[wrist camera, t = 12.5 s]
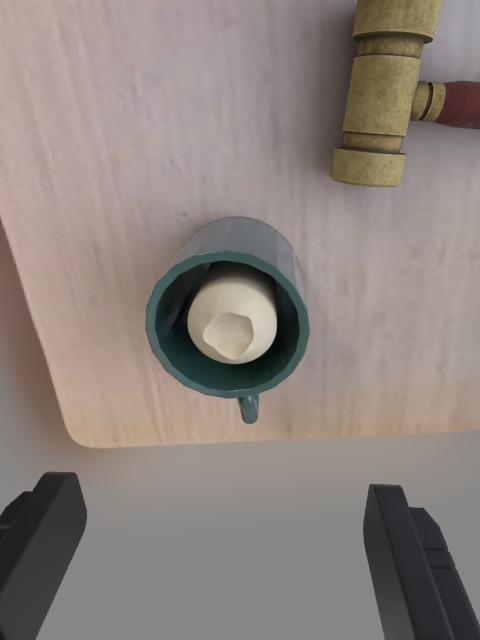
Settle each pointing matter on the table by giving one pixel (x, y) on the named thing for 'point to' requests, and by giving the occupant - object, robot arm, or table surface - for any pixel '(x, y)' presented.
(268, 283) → the candle
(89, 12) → the table surface
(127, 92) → the table surface
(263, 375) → the teal faceted cup
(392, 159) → the gavel
